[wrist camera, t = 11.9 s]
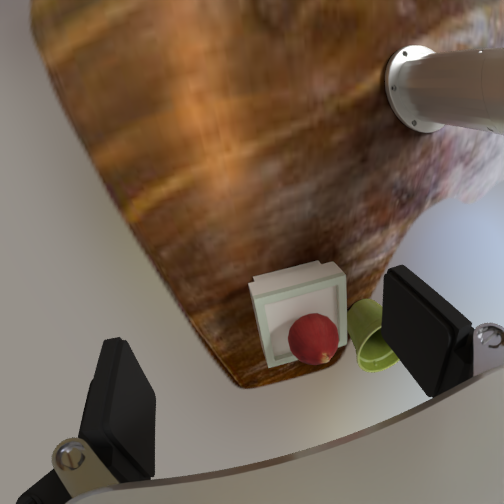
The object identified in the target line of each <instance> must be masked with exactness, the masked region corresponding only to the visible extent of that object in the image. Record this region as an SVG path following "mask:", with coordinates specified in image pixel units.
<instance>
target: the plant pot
mask: <svg viewBox="0 0 504 504" xmlns="http://www.w3.org/2000/svg"><path fill="white" fill-rule="evenodd" d="M381 322H382V306H381V305H379V304H378V303H377V302H375V301H374V300H371V299H362V300H360V301H358V302H356V303H354V304H353V305H352V307H351V309H350V310H349V311H348V312H347V330H348V333H349V335H350V337H351V339H352V342H353V344H354V346H355V349H356V354H357V363H358V365H359V367H360V368H361V369H362V370H364V371H366V372H371V373H372V372H379V371H383V370H385V369H387V368H389V367H391V366H393V365H394V364H395V363H397V362H398V361H399V360H400V359H399V358H398V357H397V356H396V354H395V353H394V352H393V351H392V349H391V348H390V347H389V345H388V344H387V343H386V342H385V340H384V339H383V337H382V334H381Z"/></svg>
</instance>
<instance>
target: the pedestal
mask: <svg viewBox="0 0 504 504" xmlns="http://www.w3.org/2000/svg"><path fill="white" fill-rule="evenodd" d="M253 280H254V282H251V283H248V286H249V290H250V295H251V300H252V304H253V309H254V313H255V318H256V323H257V327H258V332H259V336H260V341H261V345H262V350H263V353H264V356H265V359H266V362H267V365H268V368H271V367H274V366H278V365H282V364H285V363H289V362H292V361H296V360H298V359H297V358H296V357H295V356H294V355H293V354H292V352H291V351H290V347H289V343H288V334H289V330H290V327H291V326H292V325H293V323H294V322H295V321H296V320H297V319H299V318H300V317H302V316H304V315H307V314H312V313H318V314H321V315H324V316H327V317H328V318H329V319H330V320H331V321H332V322H333V323H334V324H335V325H336V327H337V329H338V335H339V343H338V347H341V346H344V345H347V294H346V275H345V273H344V272H343V271H342V270H341V269H340V268H339V267H338V266H337V265H336V264H335V263H334V262H333V261H332V262H328V263H325V264H321V263H320V262H319V261H318V260H317V261H313V262H309V263H305V264H302V265H298V266H294V267H290V268H286V269H282V270H278V271H274V272H270V273H266V274H262V275H258V276H254V277H253Z"/></svg>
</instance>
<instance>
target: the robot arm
mask: <svg viewBox="0 0 504 504" xmlns="http://www.w3.org/2000/svg"><path fill="white" fill-rule="evenodd" d="M385 88H386V94H387V98H388V101H389V103H390V106H391V108H392V110H393V111H394V113H395V115H396V116H397V117H398V118H399V120H400V121H401V122H402V123H404V124H405V125H406V126H407V127H409V128H411V129H412V130H415V131H418V132H424V133H431V132H435V131H438V130H439V129H441V128H443V127H444V126H445V125H452V126H459V127H465V128H470V129H476V130H481V131H486V132H491V133H496V134H501V135H504V48H487V49H471V50H459V51H449V52H440V53H435V52H434V51H432V50H431V49H429V48H427V47H424V46H420V45H410V46H405V47H403V48H401V49H399V50H398V51H396V52H395V53H394V54H393V55H392V57H391V58H390V60H389V62H388V65H387V68H386V72H385ZM391 88H392V89H391ZM471 325H472V323H471V322H470V321H469V320H468V319H467V318H466V317H464V315H463V314H461V313H460V312H459V311H458V310H457V309H456V308H454V307H453V306H452V305H451V304H450V303H449V302H448V301H446V300H445V299H444V298H443V297H442V296H441V295H439V294H438V293H437V292H436V291H435V290H434V289H432V288H431V287H430V286H429V285H428V284H426V283H425V282H424V281H423V280H421V279H420V278H419V277H418V276H417V275H415V274H414V273H413V272H412V271H410V270H409V269H408V268H407V267H405V266H404V265H399V266H396V267H393V268H390V269H388V271H387V274H385V275H384V289H383V307H382V322H381V334H382V337H383V339H384V340H385V342H386V343H387V344H388V345H389V347H390V348H391V349H392V351H393V352H394V353H395V354H396V356H397V357H398V358H399V359H400V361H401V362H402V363H403V365H404V366H405V367H406V368H407V370H408V371H409V372H410V374H411V375H412V376H413V378H414V379H415V380H416V381H417V383H418V384H419V386H420V387H421V388H422V389H423V391H424V392H425V393H426V395H427V396H428V397H433V398H432V399H430V400H428V401H426V402H424V403H422V404H420V405H418V406H416V407H414V408H412V409H410V410H408V411H405V412H403V413H401V414H399V415H397V416H394V417H392V418H390V419H388V420H385V421H383V422H381V423H378V424H376V425H373V426H371V427H368V428H366V429H363V430H361V431H358V432H356V433H353V434H350V435H347V436H345V437H342V438H339V439H336V440H333V441H330V442H327V443H324V444H322V445H318V446H316V447H312V448H309V449H306V450H302V451H299V452H295V453H292V454H288V455H285V456H281V457H278V458H273V459H269V460H265V461H262V462H257V463H253V464H248V465H244V466H239V467H234V468H229V469H224V470H219V471H213V472H207V473H201V474H194V475H188V476H180V477H172V478H164V479H155V480H151V477H154V475H155V411H156V396H155V393H154V391H153V389H152V387H151V385H150V383H149V382H148V380H147V378H146V376H145V374H144V373H143V371H142V369H141V367H140V365H139V363H138V361H137V359H136V357H135V356H134V353H133V352H132V350H131V348H130V346H129V344H128V342H127V341H126V340H122V339H121V338H120V337H117V338H112V339H107V340H104V342H103V345H102V349H101V353H100V356H99V360H98V363H97V367H96V371H95V375H94V378H93V380H92V381H91V383H90V387H89V391H88V395H87V399H86V403H85V408H84V412H83V416H82V421H81V425H80V430H79V435H78V438H73V437H72V438H69V439H66V440H64V441H62V442H61V443H59V445H57V447H56V448H55V450H54V451H53V454H52V465H53V467H54V469H53V470H52V471H50V472H49V473H48V474H47V475H45V476H44V477H43V478H42V479H40V480H39V481H38V482H37V483H36V484H34V485H33V486H32V487H31V488H29V489H28V490H27V491H26V492H24V493H23V494H22V495H21V496H20V497H19V498H18V500H17V502H16V504H504V328H503V327H502V326H500V325H497V324H494V323H484V324H481V325H479V326H477V327H476V329H474V328H473V327H471Z"/></svg>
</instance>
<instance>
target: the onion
mask: <svg viewBox="0 0 504 504" xmlns="http://www.w3.org/2000/svg"><path fill="white" fill-rule="evenodd" d="M288 343H289V347H290V351H291V352H292V354H293V355H294V356H295V357H296V358H297V359H298V360H300V361H301V362H303V363H306V364H310V365H319V364H323V363H327V362H329V361H330V359H331V358H332V357H333V356H334V354H335V352H336V351H337V348H338V343H339V335H338V329H337V327H336V325H335V324H334V323H333V322H332V321H331V320H330V319H329V318H328V317H327V316H324V315H321V314H318V313H312V314H307V315H304V316H302V317H300V318H299V319H297V320H296V321H295V322H294V323H293V325H292V326H291V327H290V330H289V334H288Z"/></svg>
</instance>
